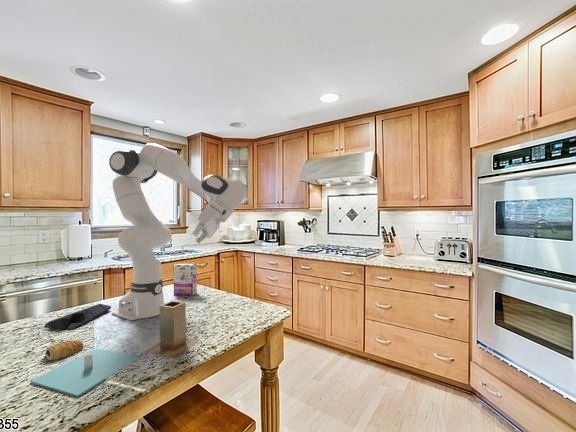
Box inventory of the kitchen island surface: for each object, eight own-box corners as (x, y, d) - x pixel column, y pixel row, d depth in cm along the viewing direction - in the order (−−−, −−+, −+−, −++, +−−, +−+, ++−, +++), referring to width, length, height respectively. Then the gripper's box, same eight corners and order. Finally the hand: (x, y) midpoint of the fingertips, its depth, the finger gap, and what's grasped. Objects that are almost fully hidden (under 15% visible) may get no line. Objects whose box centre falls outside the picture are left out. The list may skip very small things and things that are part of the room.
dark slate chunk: (117, 311, 125) (117, 301, 125) (70, 332, 104) (70, 319, 104) (89, 308, 128) (89, 298, 128) (38, 328, 107) (38, 316, 107)
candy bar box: (197, 293, 150) (196, 263, 150) (192, 296, 145) (192, 265, 145) (178, 292, 152) (178, 263, 151) (173, 295, 147) (172, 264, 147)
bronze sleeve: (160, 348, 89) (159, 306, 89) (172, 340, 94) (171, 300, 94) (174, 351, 87) (173, 307, 87) (186, 343, 93) (185, 302, 92)
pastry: (78, 344, 94) (78, 333, 94) (86, 350, 90) (86, 339, 90) (43, 357, 86) (42, 345, 86) (50, 363, 82) (50, 351, 82)
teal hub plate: (30, 383, 73) (29, 365, 72) (96, 349, 90) (96, 335, 90) (77, 397, 67) (77, 378, 67) (139, 359, 84) (138, 343, 84)
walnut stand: (144, 353, 87) (144, 336, 87) (171, 337, 98) (171, 321, 98) (175, 360, 83) (175, 342, 83) (199, 341, 95) (199, 325, 95)
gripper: (214, 217, 121) (193, 241, 115) (210, 197, 102) (184, 225, 96) (225, 225, 120) (205, 250, 115) (224, 207, 101) (199, 235, 96)
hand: (195, 239), depth 105 cm, fingers open, 8 cm apart
